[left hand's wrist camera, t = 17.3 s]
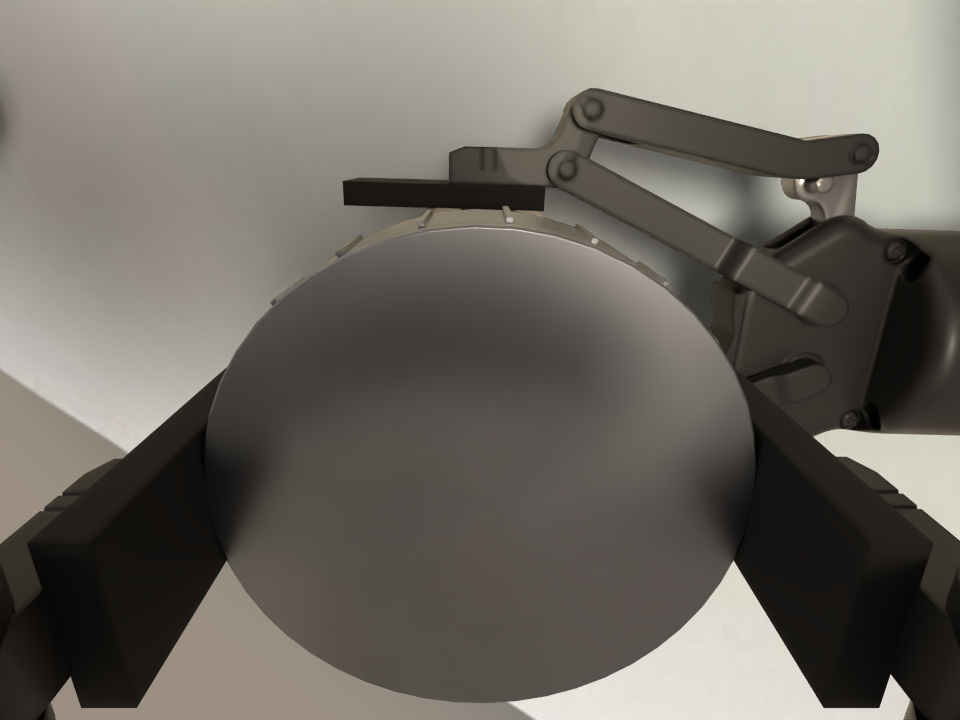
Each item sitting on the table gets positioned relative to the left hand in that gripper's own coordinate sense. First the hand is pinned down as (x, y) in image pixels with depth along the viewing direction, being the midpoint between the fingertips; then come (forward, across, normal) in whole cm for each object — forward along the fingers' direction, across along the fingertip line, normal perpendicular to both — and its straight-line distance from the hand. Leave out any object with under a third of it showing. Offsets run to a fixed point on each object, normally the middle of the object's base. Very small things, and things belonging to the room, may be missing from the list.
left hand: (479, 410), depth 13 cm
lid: (-3, 0, 0) cm, 3 cm away
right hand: (+8, -4, 0) cm, 10 cm away
